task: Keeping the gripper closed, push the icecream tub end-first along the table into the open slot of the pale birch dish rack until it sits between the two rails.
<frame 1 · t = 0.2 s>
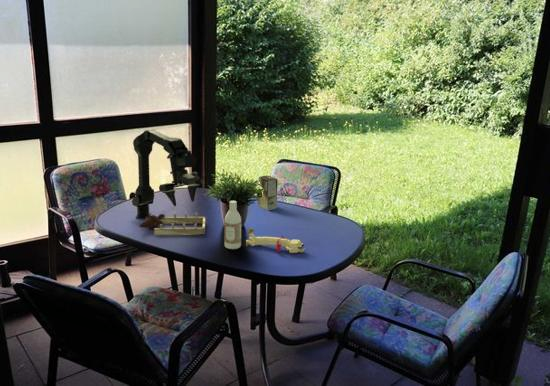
hand: (184, 203, 211), 15 cm above the table, tool pointing down, fingers open, 9 cm apart
yellow toy animal: (275, 249, 207), on the table
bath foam: (232, 246, 207), on the table
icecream: (152, 229, 223), on the table
coffee box: (267, 207, 257), on the table
dish rack: (180, 228, 224), on the table
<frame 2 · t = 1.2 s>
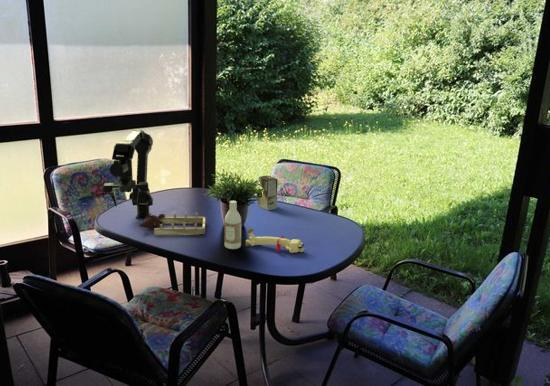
hand: (127, 205, 215), 12 cm above the table, tool pointing down, fingers open, 9 cm apart
nothing on the table moved.
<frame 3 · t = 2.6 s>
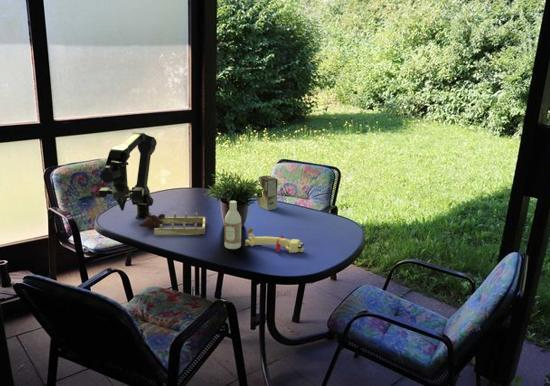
hand: (122, 210, 219), 9 cm above the table, tool pointing down, fingers closed
nothing on the table moved.
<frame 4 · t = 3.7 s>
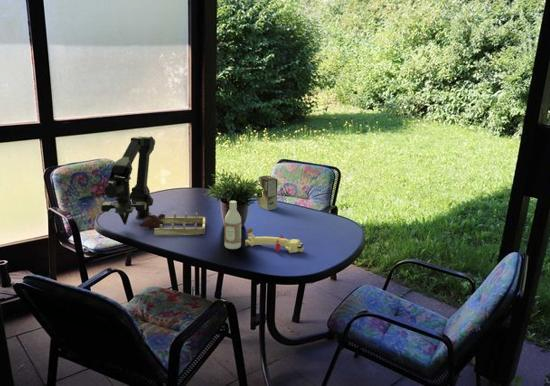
hand: (125, 224, 221), 2 cm above the table, tool pointing down, fingers closed
nothing on the table moved.
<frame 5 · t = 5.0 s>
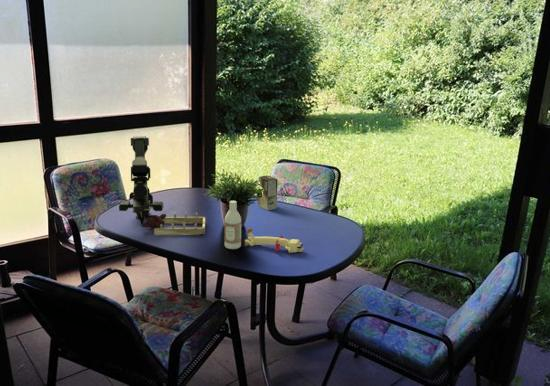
hand: (142, 224, 221), 3 cm above the table, tool pointing down, fingers closed
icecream: (154, 229, 223), on the table, touching gripper
everything else where it was.
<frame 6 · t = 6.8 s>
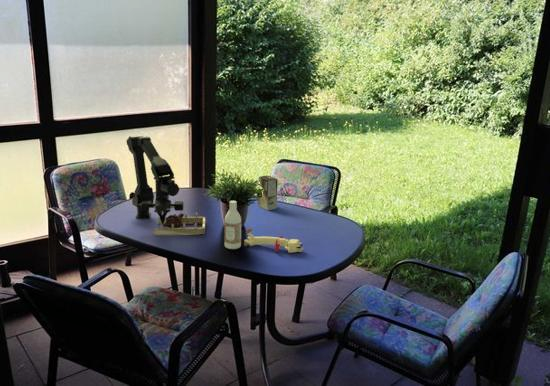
hand: (162, 223, 222), 3 cm above the table, tool pointing down, fingers closed
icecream: (173, 229, 224), on the table, touching dish rack, gripper
everything else where it was.
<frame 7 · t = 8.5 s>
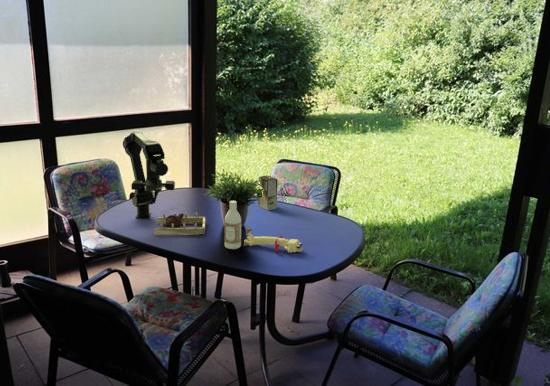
hand: (154, 203, 223), 11 cm above the table, tool pointing down, fingers closed
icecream: (173, 229, 224), on the table, touching dish rack
everything else where it was.
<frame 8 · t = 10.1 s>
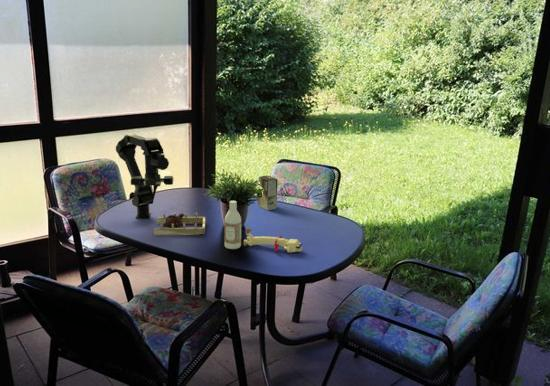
hand: (153, 198, 228), 12 cm above the table, tool pointing down, fingers closed
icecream: (173, 229, 224), on the table
everything else where it was.
at the end: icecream inside the target area on the dish rack (3.4 cm from its centre), point 0.0 cm above the dish rack's base; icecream tilted 0°; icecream moved 9.6 cm from its start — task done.
